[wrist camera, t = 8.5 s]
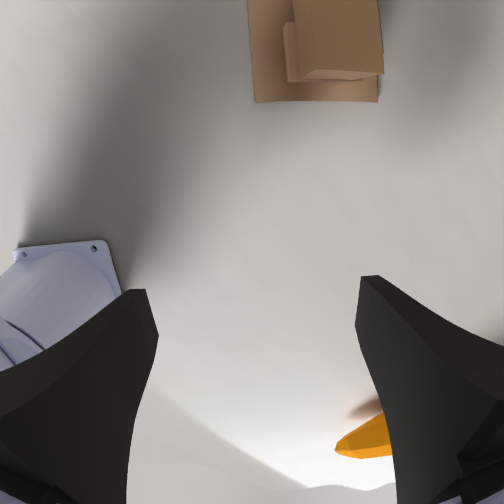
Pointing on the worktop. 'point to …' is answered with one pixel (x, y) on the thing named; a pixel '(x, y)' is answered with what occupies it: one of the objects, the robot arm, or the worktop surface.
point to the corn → (367, 440)
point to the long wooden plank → (338, 39)
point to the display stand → (291, 61)
